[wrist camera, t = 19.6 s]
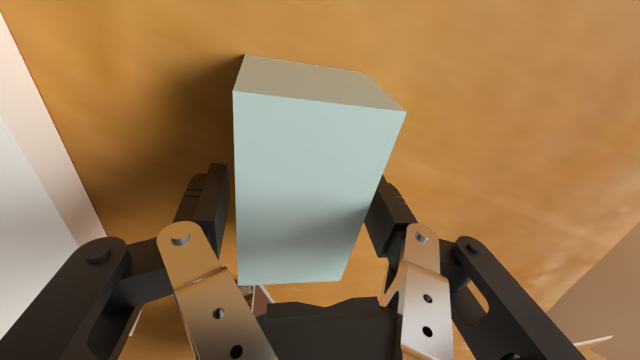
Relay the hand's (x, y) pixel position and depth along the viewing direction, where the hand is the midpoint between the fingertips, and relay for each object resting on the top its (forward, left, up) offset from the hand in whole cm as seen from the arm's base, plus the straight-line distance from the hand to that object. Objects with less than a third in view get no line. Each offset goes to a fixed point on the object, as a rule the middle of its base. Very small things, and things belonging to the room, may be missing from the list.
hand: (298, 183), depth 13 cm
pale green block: (0, 0, -3) cm, 3 cm away
